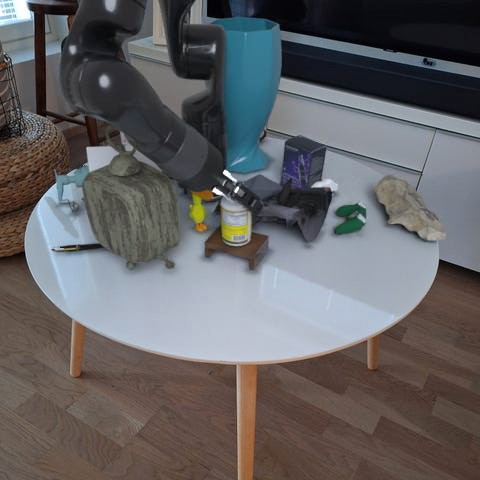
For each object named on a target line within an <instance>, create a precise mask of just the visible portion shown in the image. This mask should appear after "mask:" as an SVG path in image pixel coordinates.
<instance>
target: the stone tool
mask: <svg viewBox="0 0 480 480" xmlns="http://www.w3.org/2000/svg"><path fill="white" fill-rule="evenodd" d="M373 191H374V192H375V193H376V197H377V201H378V203H380V204H382V205H383V206H384V209H385V212H386V214H387V215H388V216H389V218H388V221H387V224H389V225H395V224H398V225H401V226H404V228H405V229H407V231H409V232H415V233H417V234H418V236H419V237H420V239H422V240H424V241H432V242H438V241H443V240H445V239H446V238H447V232H446V231H445V230H444V228H443V225H442V222H441V221H442V220H441V219H442V218H443V216H442V215H439V214H437V213H436V212H434V211H431V210H430V209H429V208H428V207H427V206H426V203H425V201H424V199H423V197H422V196H421V195H420V193H419V192H418V191H416V187H415V186H413V185H411V184H410V183H409V182H408V181H406V180H405V179H404V180H403V179H400V178H398V177H396V176H395V175H392V174H387V175H385V176H383V177H382V178H381V179H380V180H379V181H378V183H377V184H376V185H375V187H373Z"/></svg>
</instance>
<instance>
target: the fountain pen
mask: <svg viewBox="0 0 480 480" xmlns="http://www.w3.org/2000/svg"><path fill="white" fill-rule="evenodd" d="M59 247H60V248H64V249H63V250H55V249H53V248H51V249H50V250H51V251H52V252H56V253H57V252H60V253H63V252H64V253H65V252H67V253H68V252H80V251H87V250H99V249H106V248H105V247H104V246H102V245H101V244H100V243H99V242H98V243H84V244H83V243H82V244H68V245H61V246H59Z"/></svg>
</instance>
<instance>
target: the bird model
mask: <svg viewBox="0 0 480 480" xmlns="http://www.w3.org/2000/svg"><path fill="white" fill-rule="evenodd" d="M291 185H292V179H291V178H290V179H289V180H288V181H287V183H286V184H285V185H284V186H283V189H282V191H281V193H280V195H279V198H278V200H277V202H278V205H280V206H285V207H288V206H290V205H292V204H296V203H298V201H299V199H300V197H301V190H299V191H298V192H297V193H296V194H295V195H294V196H293V197H292V198H291V199H290V200H289V201H288V202H287V199H288V196H289V193H290V190H291ZM286 202H287V204H286ZM291 203H292V204H291ZM285 204H286V205H285ZM259 222H260V221H259V220H257V221H256V222H254V224H252V228H253V227H254V226H255V225H257V224H258V223H259ZM272 222H273V223H276V224H277V223H281V222H278V221H275V222H274V221H272Z"/></svg>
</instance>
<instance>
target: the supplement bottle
mask: <svg viewBox="0 0 480 480" xmlns="http://www.w3.org/2000/svg"><path fill="white" fill-rule="evenodd" d="M233 184H234V185H235V183H233ZM230 193H231V192H230ZM230 193H229V194H230ZM229 194H227V196H229V197H231V196H230V195H229ZM220 204H221V232H222V240H223V241H224V242H225V243H226V244H228V245H231V246H242V245H245V244H247V243H248V242H249V241H250V240H251V232H252V228H253V227H252V226H253V215H252V213H251V212H250V211H248V210H247V209H244V208H243V207H242V206H241V205H239V204H238V203H237V202H236V203H231V202H229V201H228V200H227V199H225V198H224V197H222V199H221V203H220Z"/></svg>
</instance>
